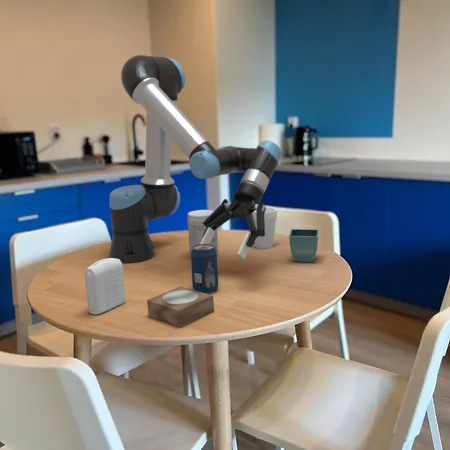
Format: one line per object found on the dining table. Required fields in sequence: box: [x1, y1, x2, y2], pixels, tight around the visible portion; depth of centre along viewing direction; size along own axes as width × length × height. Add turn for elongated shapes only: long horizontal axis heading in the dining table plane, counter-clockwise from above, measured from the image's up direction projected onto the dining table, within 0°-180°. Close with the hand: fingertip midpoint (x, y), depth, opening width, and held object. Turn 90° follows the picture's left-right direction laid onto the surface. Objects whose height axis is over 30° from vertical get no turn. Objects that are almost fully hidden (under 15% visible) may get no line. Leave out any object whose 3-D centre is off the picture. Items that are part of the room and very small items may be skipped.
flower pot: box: [288, 228, 320, 263], centre depth 150 cm, size 9×9×9 cm
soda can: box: [190, 244, 219, 294], centre depth 128 cm, size 7×7×12 cm
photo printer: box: [84, 257, 126, 315], centre depth 119 cm, size 10×4×12 cm, turn 147°
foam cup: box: [252, 206, 278, 250], centre depth 167 cm, size 10×9×13 cm
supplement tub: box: [187, 209, 219, 257], centre depth 159 cm, size 10×10×15 cm
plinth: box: [146, 286, 215, 328], centre depth 114 cm, size 11×11×4 cm
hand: (220, 253), depth 130 cm, fingers open, 13 cm apart
